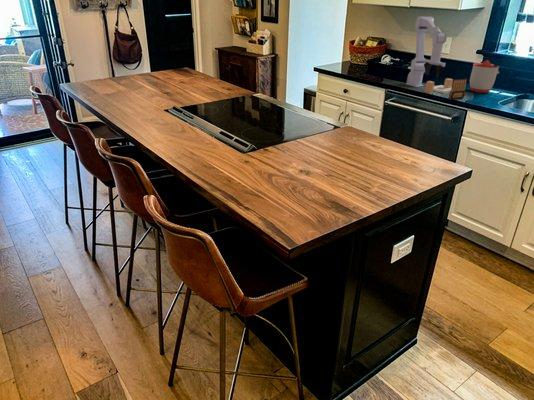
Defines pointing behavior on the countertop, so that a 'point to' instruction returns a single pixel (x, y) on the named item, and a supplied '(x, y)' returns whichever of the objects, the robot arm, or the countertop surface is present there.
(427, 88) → the jaw block
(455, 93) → the ammunition clip
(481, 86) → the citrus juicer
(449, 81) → the housing
